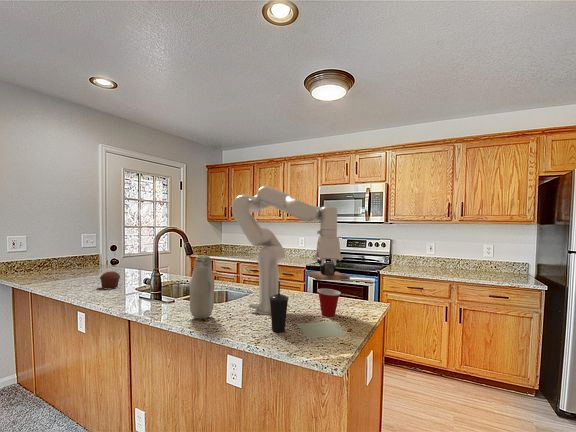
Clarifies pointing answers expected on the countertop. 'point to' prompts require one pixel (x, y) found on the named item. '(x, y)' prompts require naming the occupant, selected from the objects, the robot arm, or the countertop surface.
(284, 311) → the drinking cup
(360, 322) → the countertop surface
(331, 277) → the lid
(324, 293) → the plastic cup
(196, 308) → the gray bottle
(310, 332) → the mat
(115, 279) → the muffin
